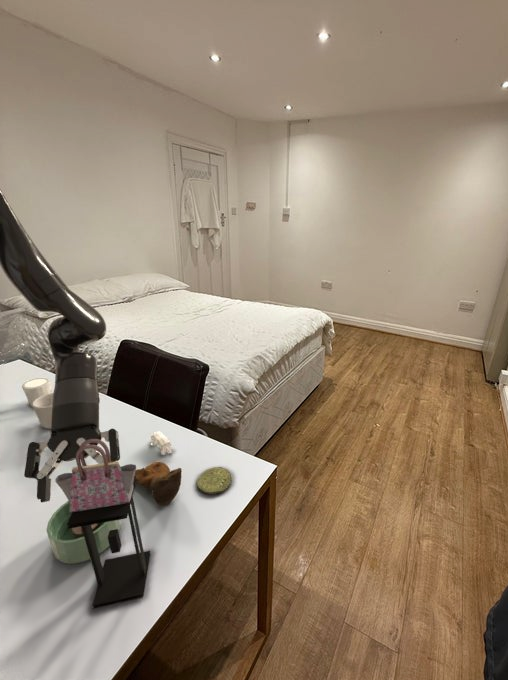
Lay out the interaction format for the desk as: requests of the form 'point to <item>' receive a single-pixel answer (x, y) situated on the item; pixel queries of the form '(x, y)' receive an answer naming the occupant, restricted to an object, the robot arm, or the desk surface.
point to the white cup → (36, 388)
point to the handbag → (103, 506)
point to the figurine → (161, 442)
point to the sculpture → (160, 481)
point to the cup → (44, 409)
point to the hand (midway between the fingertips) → (74, 495)
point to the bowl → (65, 542)
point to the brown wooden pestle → (79, 533)
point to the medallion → (214, 480)
